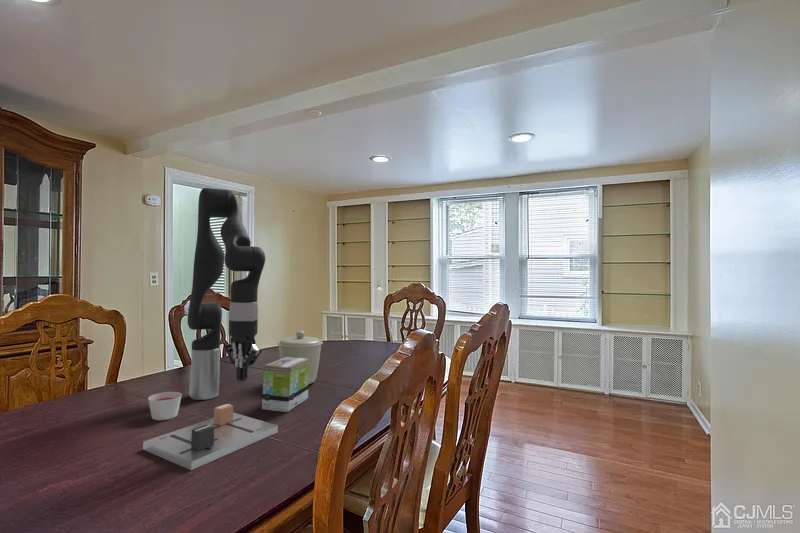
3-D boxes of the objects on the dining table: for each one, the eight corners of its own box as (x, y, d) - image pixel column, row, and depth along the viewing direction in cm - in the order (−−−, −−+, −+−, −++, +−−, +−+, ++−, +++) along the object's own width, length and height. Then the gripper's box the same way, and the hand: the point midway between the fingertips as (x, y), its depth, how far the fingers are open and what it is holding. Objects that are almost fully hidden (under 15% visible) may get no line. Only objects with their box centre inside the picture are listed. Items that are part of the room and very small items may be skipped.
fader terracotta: (213, 423, 116) (214, 407, 116) (226, 419, 120) (226, 403, 120) (220, 425, 115) (221, 409, 115) (232, 421, 118) (233, 405, 118)
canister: (298, 391, 155) (300, 335, 155) (266, 383, 164) (267, 331, 165) (331, 381, 170) (332, 330, 170) (299, 374, 180) (300, 326, 180)
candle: (187, 414, 129) (188, 394, 129) (160, 424, 121) (161, 402, 121) (168, 410, 133) (169, 390, 133) (141, 418, 124) (141, 398, 125)
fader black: (191, 448, 100) (191, 429, 100) (206, 442, 104) (206, 424, 104) (198, 451, 99) (199, 431, 99) (213, 445, 102) (214, 426, 102)
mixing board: (142, 449, 104) (143, 441, 104) (231, 418, 126) (231, 411, 126) (191, 470, 94) (191, 461, 94) (277, 432, 116) (277, 425, 116)
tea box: (289, 412, 132) (290, 367, 132) (261, 410, 134) (262, 364, 134) (309, 398, 147) (310, 357, 147) (283, 396, 149) (284, 355, 149)
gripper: (216, 317, 114) (214, 379, 114) (248, 321, 107) (246, 387, 107) (238, 314, 120) (237, 373, 120) (270, 318, 114) (269, 381, 114)
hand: (241, 380), depth 114 cm, fingers closed
